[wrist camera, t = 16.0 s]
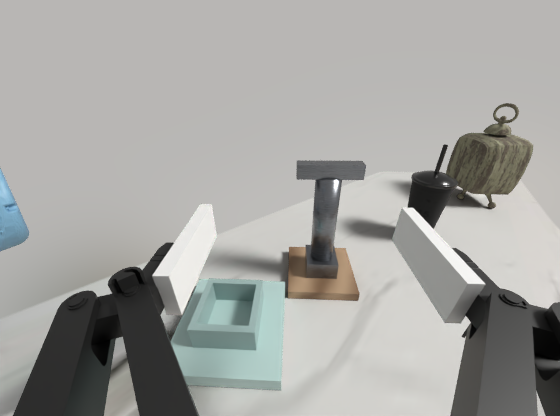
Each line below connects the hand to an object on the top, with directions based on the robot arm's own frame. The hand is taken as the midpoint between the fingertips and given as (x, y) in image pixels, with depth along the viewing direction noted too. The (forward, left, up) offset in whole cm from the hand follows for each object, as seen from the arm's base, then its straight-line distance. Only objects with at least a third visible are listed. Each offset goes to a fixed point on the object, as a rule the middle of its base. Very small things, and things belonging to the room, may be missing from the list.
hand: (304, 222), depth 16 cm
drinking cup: (+26, +29, -22) cm, 45 cm away
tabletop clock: (+49, +48, -22) cm, 72 cm away
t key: (+4, +17, -20) cm, 26 cm away
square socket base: (-9, +6, -22) cm, 24 cm away
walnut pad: (+4, +17, -22) cm, 28 cm away
